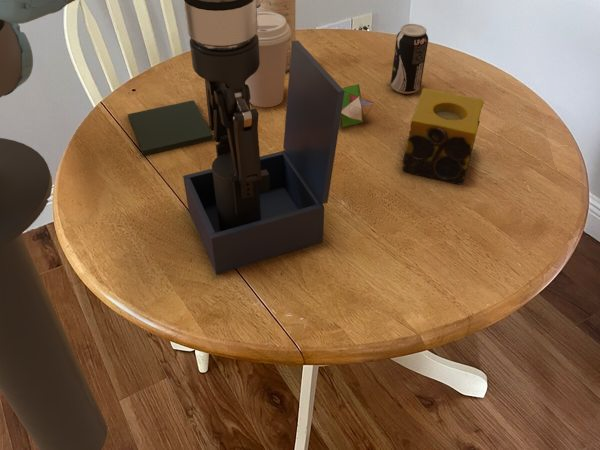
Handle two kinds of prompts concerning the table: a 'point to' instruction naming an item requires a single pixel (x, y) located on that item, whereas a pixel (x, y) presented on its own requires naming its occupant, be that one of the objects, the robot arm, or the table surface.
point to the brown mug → (226, 194)
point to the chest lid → (312, 120)
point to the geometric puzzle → (352, 106)
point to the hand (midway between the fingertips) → (237, 196)
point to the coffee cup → (270, 60)
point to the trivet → (169, 127)
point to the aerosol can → (285, 5)
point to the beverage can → (409, 58)
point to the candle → (442, 135)
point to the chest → (274, 217)
